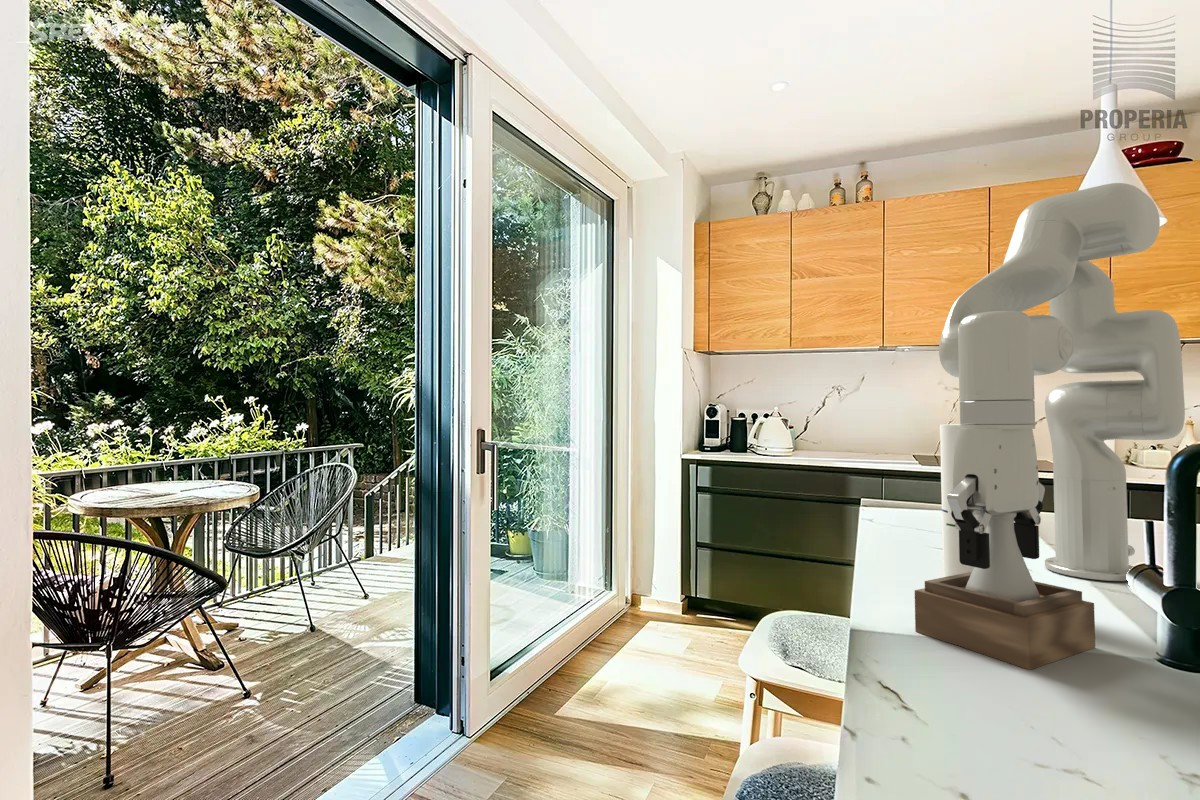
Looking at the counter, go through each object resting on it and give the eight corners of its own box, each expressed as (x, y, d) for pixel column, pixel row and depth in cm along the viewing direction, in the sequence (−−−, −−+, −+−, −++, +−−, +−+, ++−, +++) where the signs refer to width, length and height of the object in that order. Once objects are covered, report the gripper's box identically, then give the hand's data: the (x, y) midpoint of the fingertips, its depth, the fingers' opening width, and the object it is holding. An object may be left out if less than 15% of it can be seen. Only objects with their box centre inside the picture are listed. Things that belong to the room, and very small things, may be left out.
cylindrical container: (985, 593, 91) (981, 424, 92) (1013, 608, 84) (1008, 424, 85) (935, 592, 92) (931, 424, 93) (957, 607, 85) (953, 425, 86)
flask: (952, 591, 75) (950, 509, 75) (992, 585, 78) (990, 505, 78) (1012, 608, 68) (1009, 517, 69) (1053, 600, 71) (1051, 513, 72)
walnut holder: (980, 615, 82) (979, 567, 82) (1095, 647, 70) (1093, 592, 70) (915, 631, 76) (914, 580, 76) (1029, 669, 64) (1027, 609, 64)
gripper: (1006, 416, 81) (1010, 547, 80) (919, 417, 73) (923, 563, 73) (1071, 415, 74) (1075, 559, 74) (983, 417, 66) (987, 578, 66)
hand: (1000, 561), depth 73 cm, fingers open, 9 cm apart
